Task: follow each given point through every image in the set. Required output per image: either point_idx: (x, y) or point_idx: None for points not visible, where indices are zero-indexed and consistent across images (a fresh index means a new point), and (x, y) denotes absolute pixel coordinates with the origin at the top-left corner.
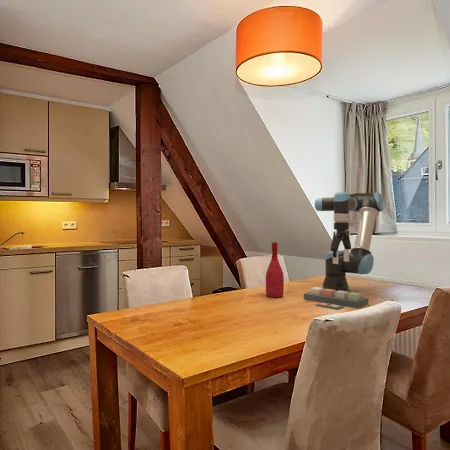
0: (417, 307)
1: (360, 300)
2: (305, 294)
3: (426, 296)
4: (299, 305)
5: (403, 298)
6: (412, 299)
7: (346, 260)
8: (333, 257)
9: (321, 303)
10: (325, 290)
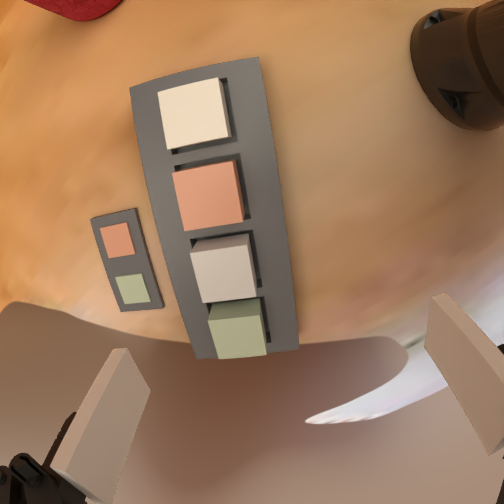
0: (355, 418)
1: None
2: (131, 97)
3: None
4: (54, 174)
5: None
6: None
7: (433, 333)
8: (90, 406)
9: (114, 229)
10: (176, 194)
